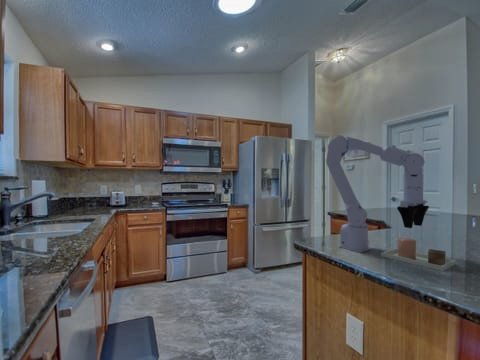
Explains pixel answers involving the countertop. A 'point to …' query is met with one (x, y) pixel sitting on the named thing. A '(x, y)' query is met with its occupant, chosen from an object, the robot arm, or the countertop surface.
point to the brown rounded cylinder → (407, 248)
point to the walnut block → (436, 257)
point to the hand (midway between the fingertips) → (413, 226)
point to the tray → (418, 260)
